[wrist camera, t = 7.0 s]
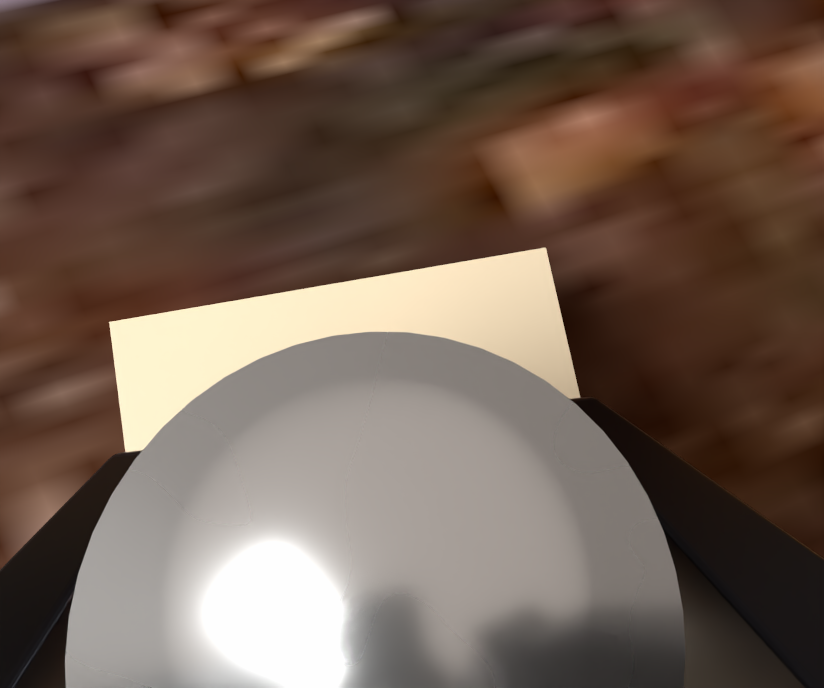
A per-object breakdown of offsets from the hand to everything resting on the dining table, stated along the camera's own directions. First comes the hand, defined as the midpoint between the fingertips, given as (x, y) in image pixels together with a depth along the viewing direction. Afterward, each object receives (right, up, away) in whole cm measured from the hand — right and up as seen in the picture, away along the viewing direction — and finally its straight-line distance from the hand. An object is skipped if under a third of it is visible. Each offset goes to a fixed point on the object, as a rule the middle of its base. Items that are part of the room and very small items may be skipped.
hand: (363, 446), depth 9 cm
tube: (0, -3, +10) cm, 10 cm away
